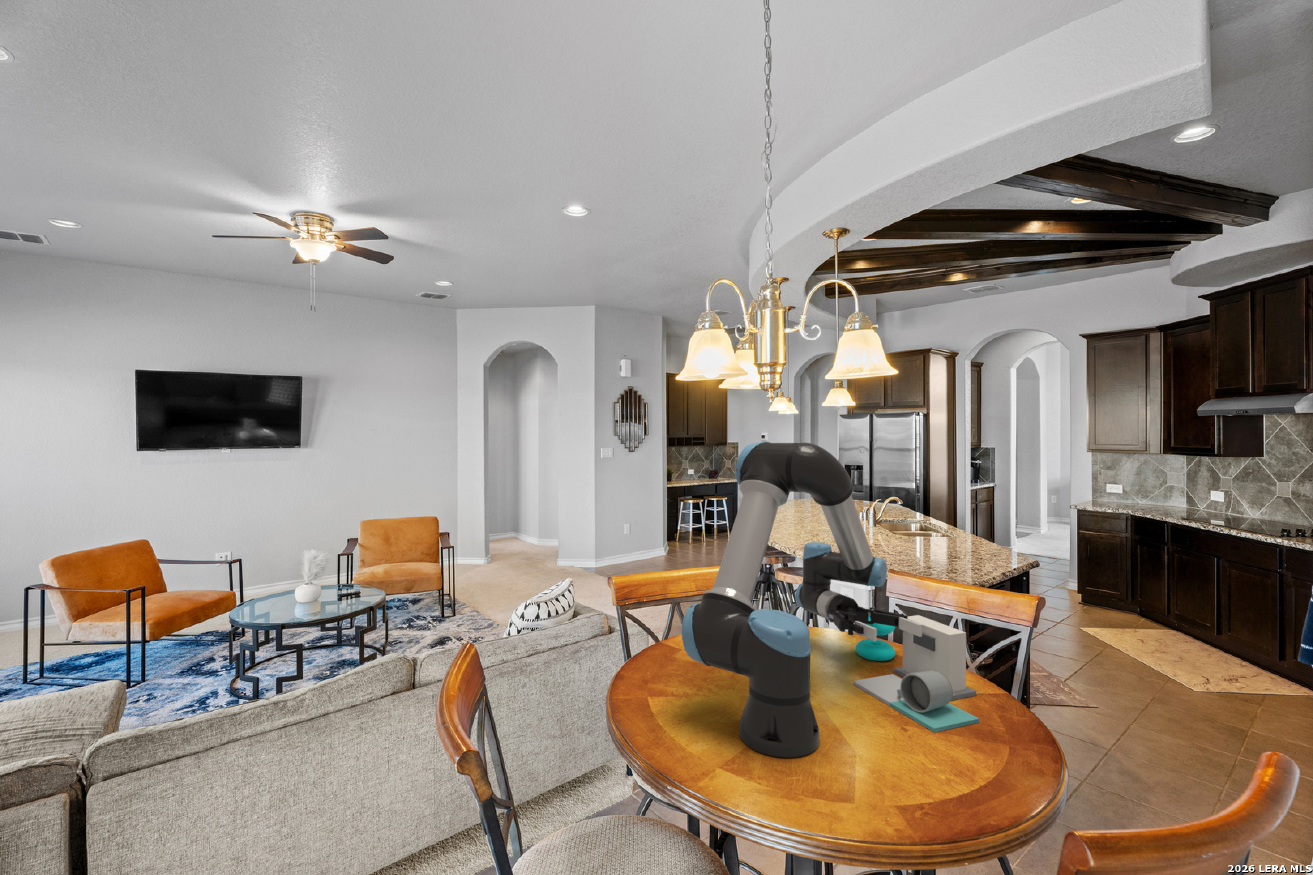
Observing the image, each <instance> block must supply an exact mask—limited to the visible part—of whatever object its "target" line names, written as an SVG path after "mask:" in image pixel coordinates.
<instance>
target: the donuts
mask: <svg viewBox="0 0 1313 875" xmlns="http://www.w3.org/2000/svg"><path fill="white" fill-rule="evenodd" d="M868 621H871V618H870V616H869V619H868ZM864 624H866V623H864ZM866 625H869V626H871V627H874V628H876V629H877V636H887V635H890V634H892V633H893V632H894V631H895V629H896V627H895V626H889V625H883V624H877V623H874V624H872V625H871V624H866ZM855 651H856V653H857V654H858V655H859V656H860V657H861V658H863V659H866V660H870V661H875V662H886V661H887V662H888V661H890V660H893V659H894V658H895V656H896V650H895V647H894V646H892V645H891V643H888V642H887V641H885V640H881V639H877V641H872V640H870V639H868V638H864V639H861V640H859V641H858V642H857V643H856V644H855Z"/></svg>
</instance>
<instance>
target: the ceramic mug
mask: <svg viewBox="0 0 1313 875" xmlns="http://www.w3.org/2000/svg"><path fill="white" fill-rule="evenodd" d="M900 687H901V689H898V690H897V693H898V696H899V697H903V699H904V701H905V703H906V704H907V705H908V706H909V707H910V708H911V709H912V710H914V711H916V712H919V713H924V712H927V711H930V710H934V709H936V708H940V707H943V706H945V705H947V704H948V703H950V702H952V701H951V699H952V696H953V690H952V686H951V684H950V682H949V680H948V679H947V678H946V677H945V676H944V675H943V674H941V673H939V672H936V671H924V672H917V673H910V674H907V675H906V676H904V677H902V681H901V686H900Z"/></svg>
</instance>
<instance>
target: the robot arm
mask: <svg viewBox="0 0 1313 875" xmlns="http://www.w3.org/2000/svg"><path fill="white" fill-rule="evenodd" d="M735 469H736V471H735V479H736V482H737V485H739V486H738V487H739V491H740V493H741V495H742V497H741V499H740V504H739V507H738V510H737V513H736V517H735V520H734V522H733V526H732V527H731V528H732V529H731V532H730V535H729V538H728V541H727V544H726V547H725V550H724V553H723V557H722V559H721V561H720V562H721V563H720V566H719V568H718V572H717V574H716V577H715V581H714V584H713V587H712V588H711V589H709V590H707V591H705V592H704V593H703V596H702V598H701V601H700V603H699V602H697V603H693V604H691V605H690V606H689V607H688V608H687V609H686V610H685V613H684V615H683V618H682V623H681V640H682V645H683V648H684V651H685V653H686V655H687V656H688V657H689V658H690V659H691V660H692V661H695V662H698V663H701V664H703V665H705V666H706V667H715V668H718V669H721V670H724V671H727V672H731V673H735V674H737V675H741V676H745V677H747V678H748V695H747V699H746V702H745V706H744V708H743V711H742V715H741V718H740V721H739V736H740V739H741V740H742V742H743V743H744V744H745V745H746V746H747V747H749V748H750V749H752V750H754V751H757V753H760V754H764V755H767V756H771V757H776V758H798V757H804V756H807V755H810V754H812V753H813V752H814V751H816V750H817V749H818V747H819V745H820V728H819V725H818V722H817V718H816V716H815V712H814V710H813V705H812V703H811V702H812V701H811V652H812V646H811V638H810V635H811V634H810V629H809V627H808V625H807V624H806V622H804V620H803V619H801V618H800V617H798V616H797V615H794V614H791V613H789V612H786V611H782V610H777V609H769V608H761V609H760V608H759V609H755V608H754V605H753V603H752V599H753V596H754V593H755V589H756V586H757V583H758V578H759V574H760V571H761V568H762V565H763V562H764V558H765V555H766V552H767V548H768V543H769V540H770V537H771V535H772V530H773V527H774V524H775V521H776V516H777V513H778V509H779V507H781V506H783V505H785V504H786V503H787V501H788V500H789V499H788V498H789V496H790V493H791V492H793V493H805V494H809V495H811V497H812V499H813V501H814V502H815V503H816V505H819V506H820V507H821V509H822V512H823V514H824V517H825V520H826V522H827V525H828V526H829V529H830V532H831V534H832V536H833V538H834V541H835V544H836V547H837V548H838V551H839V552H836V551H833V549H832V545H831V544H829V543H825V542H820V541H819V542H818V541H817V542H816V541H815V542H814V541H813V542H807V543H805V544H804V546H803V552H802V553H803V555H802V583H800V584H799V585H798V586H797V589H796V590H795V592H794V599H795V602H796V604H797V605H798V606H799V608H802V609H804V611H807V612H808V613H811V614H814V615H817V616H819V617H821V618H824V619H826V620H828V621H829V623H833V624H834V625H835V626H836V628H837V629H838V630H839V631H840V632H842V633H844V632H846V630H847V635H849V636H854V633H855V634H857V635H859V636H862V637H863V638H864V639H870V640H872V641H877V636H878V635H877V629H876V628H874V627H871V626H869V625H866V624H871V625H872V624H874V623H877V624H883V625H889V626H895V628H896V627H897V628H898V629H899V630H901V631H902V632H903V631H906V632H909V633H911V634H914V635H916V636H919V637H922V625H921V624H919V623H916V622H913V621H910V620H908V615H907V614H904V613H896V612H892V611H887V610H882V609H878V608H875V607H869V608H865V607H863V606H859V604H858V603H857V601H856V600H855V599H853V598H852V597H850V596H847V595H844V594H843V593H842V594H841V593H839V592H836V591H833V590H831V584H832V583H831V582H832V581H838V582H844V583H850V584H854V585H855V584H856V585H861V586H866V587H877V588H878V587H882V586H884V585H885V583H886V580H887V575H888V566H887V562H886V560H885V559H884V558H881V557H878V556H874V555H873V553H872V550H871V547H870V544H869V542H868V539H867V537H866V533H865V529H864V528H863V524H862V522H861V519H860V516H859V515H860V514H859V512H858V510H857V507H856V504H855V501H854V499H853V496H852V495H853V493H854V486H853V481H852V479H851V476H850V475H849V473H848V471H847V469H846V468H845V467H844V465H842V463H841V462H840V461H839V460H838V459H837V458H836V457H835V456H834V455H833V454H832V453H831V452H829V451H828V450H827V449H826V448H823V447H821V446H819V445H817V444H815V443H811V442H770V441H761V442H752V443H750V444H748V445H746V446H744V448H743V449H742V450H741V452H740V453H739V455H738V458H737V461H736V465H735ZM869 616H870V618H871V621H868V619H869ZM864 623H866V624H864Z"/></svg>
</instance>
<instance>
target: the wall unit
mask: <svg viewBox="0 0 1313 875" xmlns="http://www.w3.org/2000/svg"><path fill="white" fill-rule="evenodd" d="M907 616H908V615H907ZM908 620H910V621H913V622H916V623H919V624H921V625H922V637H919V636H916V635H914V634H911V633H909V632H906V631H903V630H902V666H897V667H893V673H894V674H895V675H897V676H900V677H902V678H903V677H904V676H906V675H907V674H910V673H917V672H924V671H936V672H939V673H941V674H943V675H944V676H945V677H946V678H947V679H948V680H949V682H950V684H951V686H952V690H953V696H952V699H951V701H950V702H953V701H956V700H962V699H966V698H971V697H975V696H977V690H975V689H972V688H970V687H969V686H967V653H966V652H967V632H965V631H963V630H960V629H957V628H954V627H952V626H949V625H947V624H943V623H941V622H938V621H937V620H934V619H930V618H928V617H925V616H922V615H920V614H915V615H911V616H910V615H909V616H908Z"/></svg>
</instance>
